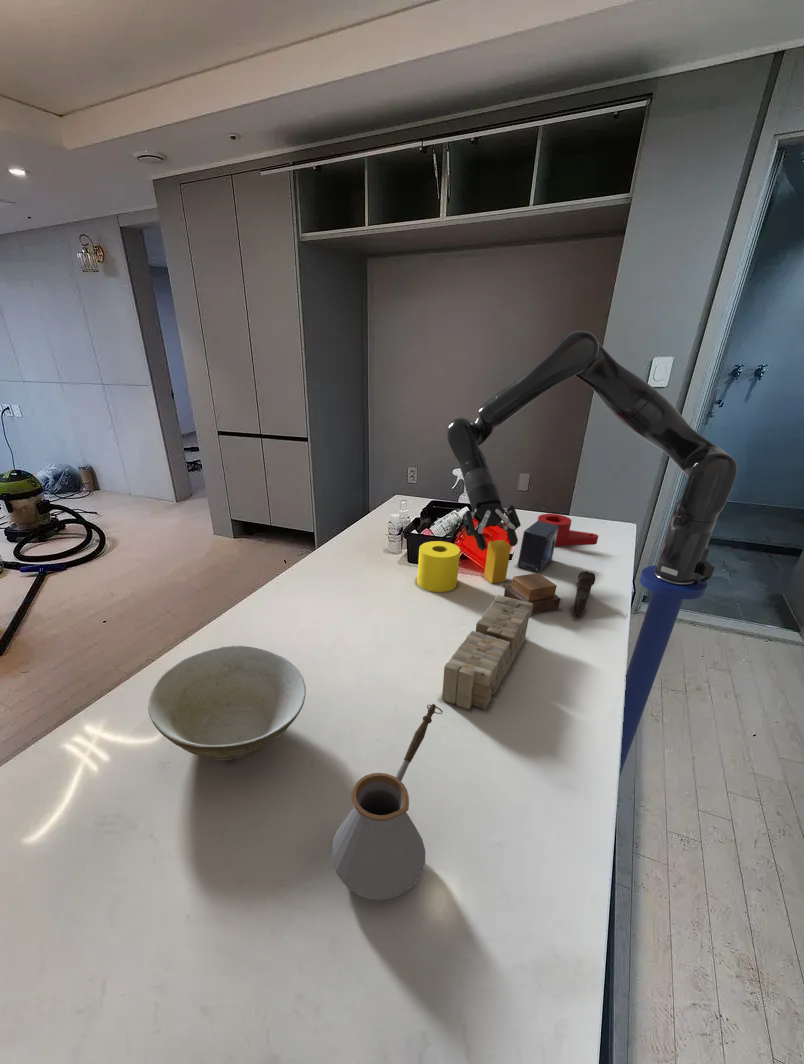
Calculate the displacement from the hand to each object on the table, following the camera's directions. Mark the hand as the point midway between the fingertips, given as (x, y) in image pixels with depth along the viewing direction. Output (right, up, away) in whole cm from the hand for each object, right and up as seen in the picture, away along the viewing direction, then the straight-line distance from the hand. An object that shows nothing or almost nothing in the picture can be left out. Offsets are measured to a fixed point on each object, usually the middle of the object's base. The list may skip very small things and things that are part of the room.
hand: (499, 547), depth 128 cm
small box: (+13, -3, +13) cm, 19 cm away
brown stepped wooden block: (+5, -14, -7) cm, 17 cm away
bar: (0, -8, +4) cm, 9 cm away
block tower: (-10, -26, -28) cm, 40 cm away
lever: (+28, +5, +27) cm, 39 cm away
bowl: (-56, -36, -44) cm, 80 cm away
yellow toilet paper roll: (-15, -9, +3) cm, 18 cm away
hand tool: (+18, -14, -6) cm, 24 cm away
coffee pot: (-31, -45, -60) cm, 81 cm away
